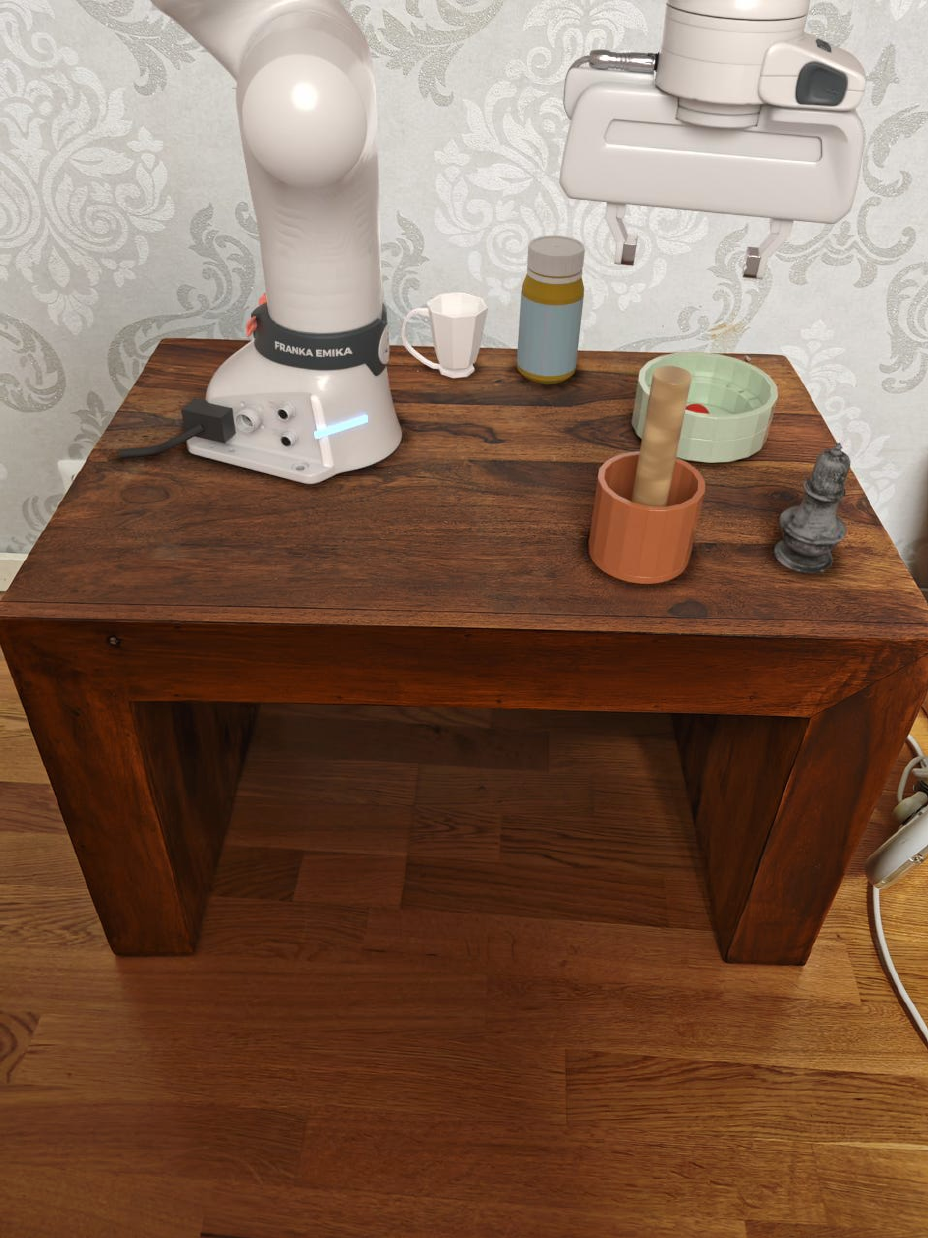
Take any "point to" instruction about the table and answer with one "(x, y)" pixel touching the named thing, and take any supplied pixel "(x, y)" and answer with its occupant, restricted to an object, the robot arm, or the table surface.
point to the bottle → (551, 309)
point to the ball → (697, 408)
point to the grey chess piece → (815, 516)
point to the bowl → (715, 406)
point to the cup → (453, 332)
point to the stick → (661, 435)
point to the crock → (644, 523)
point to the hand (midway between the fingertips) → (687, 269)
